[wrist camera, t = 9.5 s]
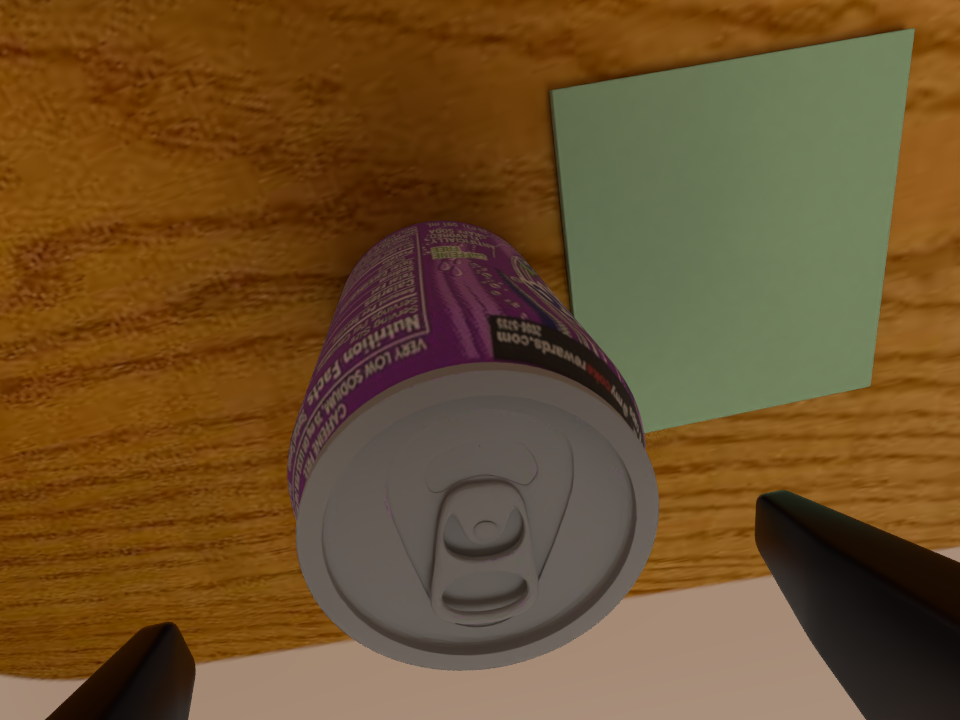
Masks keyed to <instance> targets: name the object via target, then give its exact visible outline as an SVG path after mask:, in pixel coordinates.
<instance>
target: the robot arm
mask: <svg viewBox="0 0 960 720" xmlns="http://www.w3.org/2000/svg"><path fill="white" fill-rule="evenodd" d="M755 541H756V545H757V548H758V550H759V552H760V554H761V556H762V557H763V559H764V561H765V563H766V564H767V566H768V568H769V570H770V571H771V573H772V575H773V577H774V578H775V580H776V582H777V584H778V586H779V587H780V589H781V591H782V593H783V594H784V596H785V598H786V599H787V601H788V603H789V605H790V606H791V608H792V610H793V612H794V614H795V615H796V617H797V619H798V620H799V622H800V624H801V626H802V627H803V629H804V631H805V632H806V634H807V636H808V637H809V639H810V641H811V642H812V644H813V645H814V647H815V648H816V649H817V651H818V652H819V654H820V655H821V657H822V658H823V660H824V661H825V662H826V664H827V665H828V667H829V668H830V669H831V671H832V672H833V674H834V675H835V677H836V678H837V679H838V681H839V682H840V684H841V685H842V686H843V688H844V689H845V691H846V692H847V694H848V695H849V696H850V698H851V699H852V700H853V702H854V703H855V705H856V706H857V708H858V709H859V710H860V712H861V713H862V715H863V716H864V717H865V719H866V720H960V563H959V562H957V561H955V560H952V559H950V558H947V557H945V556H943V555H940V554H938V553H936V552H933V551H931V550H928V549H926V548H924V547H921V546H919V545H916V544H914V543H912V542H909V541H907V540H904V539H902V538H900V537H897V536H895V535H893V534H890V533H888V532H885V531H883V530H881V529H878V528H876V527H873V526H871V525H869V524H866V523H864V522H861V521H859V520H857V519H854V518H852V517H849V516H847V515H845V514H842V513H840V512H837V511H835V510H833V509H830V508H828V507H825V506H823V505H821V504H818V503H816V502H813V501H811V500H809V499H806V498H804V497H801V496H799V495H797V494H794V493H792V492H789V491H786V490H779V491H774V492H770V493H765V494H762V495H760V496H759V497H758V498H757V501H756V517H755ZM194 681H195V662H194V659H193V656H192V654H191V652H190V650H189V648H188V646H187V644H186V642H185V640H184V638H183V636H182V634H181V632H180V630H179V628H178V627H177V625H176V624H174V623H173V622H164V623H160V624H155V625H150V626H147V627H144V628H142V629H141V630H139V631H138V632H137V633H136V634H135V635H134V636H133V637H132V638H131V639H130V640H129V641H128V642H127V643H126V644H124V645H123V646H122V647H121V648H120V649H119V650H118V651H117V652H116V653H115V654H114V655H113V656H112V657H111V658H110V659H109V660H108V661H107V662H105V663H104V664H103V665H102V666H101V667H100V668H99V669H98V670H97V671H96V672H95V673H94V674H93V675H92V676H91V677H90V678H89V679H88V680H87V681H85V682H84V683H83V684H82V685H81V686H80V687H79V688H78V689H77V690H76V691H75V692H74V693H73V694H72V695H71V696H70V697H69V698H68V699H66V700H65V701H64V702H63V703H62V704H61V705H60V706H59V707H58V708H57V709H56V710H55V711H54V712H53V713H52V714H51V715H50V716H49V717H47V718H46V719H45V720H188V716H189V711H190V705H191V699H192V693H193V687H194Z"/></svg>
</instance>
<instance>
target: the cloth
mask: <svg viewBox="0 0 960 720" xmlns="http://www.w3.org/2000/svg"><path fill="white" fill-rule="evenodd" d="M914 31H915V29H914V28H911V29H905V30H899V31H893V32H887V33H881V34H876V35H870V36H864V37H858V38H852V39H846V40H841V41H835V42H829V43H823V44H817V45H811V46H806V47H800V48H794V49H788V50H782V51H777V52H771V53H765V54H759V55H753V56H747V57H742V58H736V59H730V60H724V61H718V62H712V63H707V64H701V65H695V66H689V67H683V68H677V69H672V70H666V71H660V72H654V73H648V74H643V75H637V76H631V77H625V78H619V79H613V80H608V81H602V82H596V83H590V84H584V85H578V86H573V87H567V88H561V89H555V90H550V91H549V95H550V105H551V115H552V125H553V135H554V145H555V155H556V165H557V175H558V185H559V195H560V206H561V216H562V226H563V236H564V246H565V256H566V266H567V276H568V286H569V296H570V306H571V314H572V315H573V316H574V318H575V319H576V320H577V321H578V322H579V323H580V325H581V326H582V327H583V328H584V329H585V330H586V332H587V333H588V334H589V335H590V336H591V337H592V339H593V340H594V341H595V342H596V343H597V344H598V346H599V347H600V348H601V349H602V350H603V352H604V353H605V354H606V355H607V356H608V358H609V359H610V360H611V361H612V362H613V364H614V365H615V366H616V367H617V369H618V370H619V372H620V373H621V375H622V376H623V378H624V379H625V381H626V383H627V385H628V387H629V388H630V390H631V392H632V394H633V396H634V399H635V401H636V404H637V406H638V409H639V412H640V416H641V420H642V424H643V429H644V433H648V432H652V431H657V430H662V429H667V428H672V427H676V426H681V425H686V424H691V423H696V422H701V421H705V420H710V419H715V418H720V417H725V416H729V415H734V414H739V413H744V412H749V411H754V410H758V409H763V408H768V407H773V406H778V405H783V404H787V403H792V402H797V401H802V400H807V399H811V398H816V397H821V396H826V395H831V394H836V393H840V392H845V391H850V390H855V389H860V388H864V387H869V386H870V385H871V377H872V369H873V361H874V353H875V345H876V337H877V329H878V321H879V313H880V305H881V297H882V289H883V281H884V273H885V265H886V256H887V248H888V240H889V232H890V224H891V216H892V208H893V200H894V192H895V184H896V176H897V168H898V160H899V152H900V144H901V136H902V128H903V120H904V112H905V104H906V96H907V88H908V80H909V72H910V64H911V56H912V48H913V40H914Z"/></svg>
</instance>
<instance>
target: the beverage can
mask: <svg viewBox="0 0 960 720" xmlns="http://www.w3.org/2000/svg"><path fill="white" fill-rule="evenodd" d="M287 471H288V488H289V494H290V499H291V504H292V508H293V511H294V515H295V518H296V521H297V523H296V546H297V554H298V559H299V563H300V567H301V570H302V573H303V577H304V579H305V581H306V584H307V586H308V588H309V590H310V592H311V594H312V595H313V597H314V599H315V600H316V602H317V603H318V605H319V606H320V608H321V609H322V610H323V611H324V613H325V614H326V615H327V616H328V617H329V618H330V619H331V620H332V621H333V622H334V623H335V624H336V625H337V626H338V627H339V628H340V629H341V630H342V631H343V632H345V633H346V634H347V635H349V636H350V637H351V638H353V639H354V640H356V641H357V642H359V643H360V644H362V645H364V646H365V647H367V648H369V649H371V650H373V651H375V652H377V653H379V654H381V655H384V656H386V657H389V658H391V659H394V660H397V661H400V662H403V663H407V664H410V665H415V666H420V667H425V668H431V669H440V670H458V671H462V670H482V669H490V668H496V667H502V666H508V665H512V664H516V663H520V662H523V661H526V660H529V659H533V658H536V657H538V656H541V655H544V654H546V653H549V652H551V651H553V650H555V649H557V648H559V647H561V646H563V645H565V644H567V643H569V642H571V641H572V640H574V639H576V638H577V637H579V636H581V635H582V634H584V633H585V632H587V631H588V630H589V629H591V628H592V627H593V626H595V625H596V624H597V623H599V622H600V621H601V620H602V619H603V618H604V617H605V616H607V615H608V614H609V613H610V612H611V611H612V610H613V609H614V608H615V607H616V606H617V605H618V604H619V603H620V601H621V600H622V599H623V598H624V597H625V596H626V594H627V593H628V592H629V590H630V589H631V588H632V586H633V585H634V583H635V582H636V580H637V579H638V577H639V575H640V574H641V572H642V570H643V568H644V566H645V564H646V562H647V560H648V557H649V555H650V552H651V549H652V547H653V544H654V540H655V536H656V531H657V525H658V517H659V496H658V487H657V482H656V477H655V474H654V471H653V467H652V464H651V462H650V460H649V457H648V455H647V453H646V451H645V437H644V429H643V424H642V420H641V416H640V412H639V409H638V406H637V404H636V401H635V399H634V396H633V394H632V392H631V390H630V388H629V387H628V385H627V383H626V381H625V379H624V378H623V376H622V375H621V373H620V372H619V370H618V369H617V367H616V366H615V365H614V364H613V362H612V361H611V360H610V359H609V358H608V356H607V355H606V354H605V353H604V352H603V350H602V349H601V348H600V347H599V346H598V344H597V343H596V342H595V341H594V340H593V339H592V337H591V336H590V335H589V334H588V333H587V332H586V330H585V329H584V328H583V327H582V326H581V325H580V323H579V322H578V321H577V320H576V319H575V318H574V316H573V315H572V314H571V313H570V312H569V311H568V309H567V308H566V307H565V306H564V305H563V304H562V302H561V301H560V300H559V299H558V298H557V297H556V295H555V294H554V293H553V292H552V291H551V290H550V288H549V287H548V286H547V285H546V284H545V283H544V281H543V280H542V279H541V278H540V277H539V276H538V274H537V273H536V272H535V271H534V270H533V269H532V267H531V266H530V265H529V264H528V263H527V262H526V260H525V259H524V258H523V257H522V256H521V255H520V254H519V253H518V252H517V250H516V249H514V248H513V247H512V246H511V245H510V244H509V243H507V242H506V241H505V240H503V239H502V238H500V237H499V236H497V235H495V234H494V233H492V232H490V231H488V230H485V229H483V228H481V227H478V226H475V225H471V224H467V223H462V222H456V221H430V222H423V223H419V224H414V225H411V226H408V227H405V228H403V229H400V230H398V231H396V232H394V233H392V234H390V235H388V236H387V237H385V238H383V239H382V240H380V241H379V242H378V243H376V244H375V245H374V246H373V247H372V248H370V249H369V250H368V251H367V252H366V253H365V254H364V255H363V257H362V258H361V259H360V260H359V261H358V263H357V264H356V266H355V267H354V268H353V270H352V272H351V273H350V275H349V277H348V279H347V281H346V283H345V286H344V289H343V291H342V294H341V297H340V300H339V303H338V305H337V308H336V311H335V314H334V316H333V319H332V322H331V325H330V328H329V330H328V333H327V336H326V339H325V342H324V344H323V347H322V350H321V353H320V355H319V358H318V361H317V364H316V367H315V369H314V372H313V375H312V378H311V381H310V383H309V386H308V389H307V392H306V394H305V397H304V400H303V403H302V406H301V408H300V411H299V414H298V417H297V421H296V424H295V427H294V430H293V434H292V438H291V442H290V448H289V454H288V467H287Z"/></svg>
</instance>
